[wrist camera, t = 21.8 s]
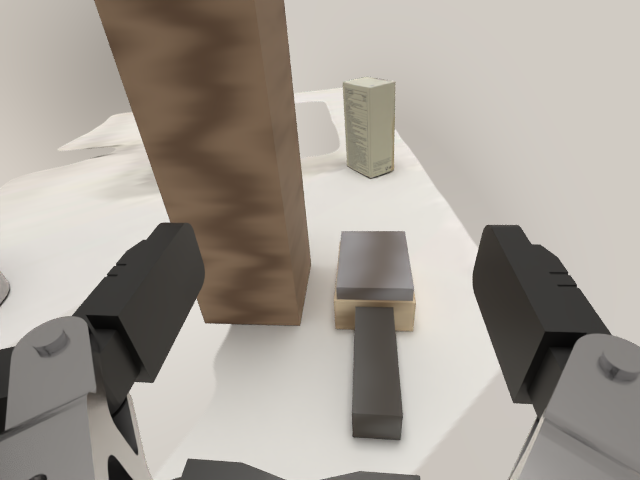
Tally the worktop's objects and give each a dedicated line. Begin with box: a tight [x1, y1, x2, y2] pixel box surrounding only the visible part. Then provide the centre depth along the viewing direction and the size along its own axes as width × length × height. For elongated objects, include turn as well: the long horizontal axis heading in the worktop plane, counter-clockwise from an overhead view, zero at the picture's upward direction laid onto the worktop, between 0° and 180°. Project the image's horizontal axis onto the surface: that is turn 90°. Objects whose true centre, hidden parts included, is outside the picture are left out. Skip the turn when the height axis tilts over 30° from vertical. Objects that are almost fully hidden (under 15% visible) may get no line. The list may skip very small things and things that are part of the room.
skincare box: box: [343, 77, 395, 178], centre depth 51 cm, size 6×4×12 cm
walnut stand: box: [94, 0, 311, 325], centre depth 25 cm, size 8×8×31 cm
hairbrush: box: [334, 231, 416, 440], centre depth 28 cm, size 6×16×4 cm, turn 174°
